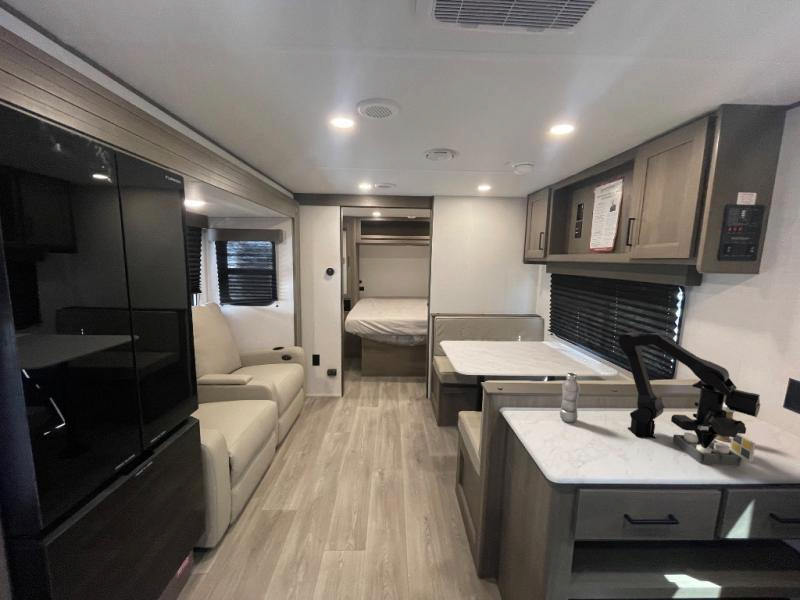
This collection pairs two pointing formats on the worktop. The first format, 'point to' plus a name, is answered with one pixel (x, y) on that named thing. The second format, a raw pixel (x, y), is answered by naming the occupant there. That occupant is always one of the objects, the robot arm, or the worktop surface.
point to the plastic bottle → (570, 398)
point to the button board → (706, 457)
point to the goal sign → (743, 447)
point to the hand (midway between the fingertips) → (703, 447)
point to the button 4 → (721, 448)
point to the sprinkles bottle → (730, 415)
